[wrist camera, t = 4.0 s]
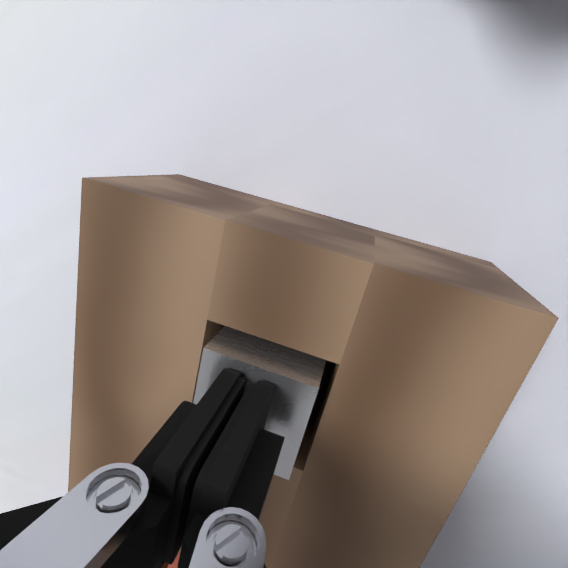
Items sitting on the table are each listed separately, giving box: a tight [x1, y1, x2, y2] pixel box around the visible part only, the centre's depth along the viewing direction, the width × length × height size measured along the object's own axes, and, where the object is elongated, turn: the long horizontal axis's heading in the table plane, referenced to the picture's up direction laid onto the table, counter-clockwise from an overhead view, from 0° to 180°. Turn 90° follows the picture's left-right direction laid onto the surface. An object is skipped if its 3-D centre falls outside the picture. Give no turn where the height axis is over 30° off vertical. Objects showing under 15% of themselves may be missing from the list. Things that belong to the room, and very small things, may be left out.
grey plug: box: [193, 326, 326, 480], centre depth 14 cm, size 4×4×5 cm
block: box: [68, 174, 558, 568], centre depth 17 cm, size 14×22×6 cm, turn 166°
